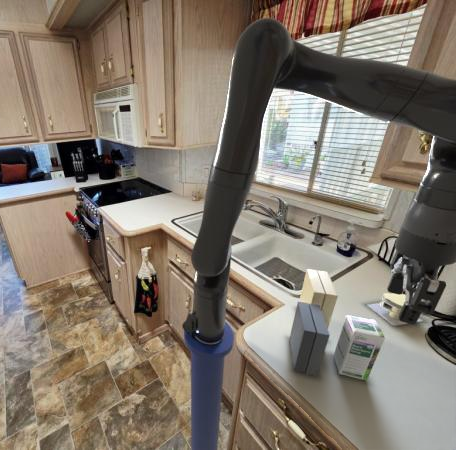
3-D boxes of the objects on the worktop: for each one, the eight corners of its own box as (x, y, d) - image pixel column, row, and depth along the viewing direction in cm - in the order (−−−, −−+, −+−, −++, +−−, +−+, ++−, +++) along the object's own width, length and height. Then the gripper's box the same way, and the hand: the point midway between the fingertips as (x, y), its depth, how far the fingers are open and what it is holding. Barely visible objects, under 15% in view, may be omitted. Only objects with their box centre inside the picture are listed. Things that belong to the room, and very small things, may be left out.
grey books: (293, 370, 63) (304, 330, 57) (289, 339, 71) (297, 301, 66) (316, 376, 61) (329, 335, 55) (309, 343, 70) (319, 305, 64)
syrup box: (338, 374, 61) (354, 331, 55) (332, 354, 66) (346, 313, 60) (366, 381, 59) (386, 338, 53) (358, 360, 64) (375, 318, 58)
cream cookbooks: (302, 335, 72) (313, 291, 66) (297, 309, 82) (306, 268, 75) (324, 340, 70) (338, 295, 64) (316, 312, 80) (327, 271, 73)
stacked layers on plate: (393, 301, 82) (399, 287, 80) (423, 321, 74) (430, 307, 72) (366, 305, 81) (371, 291, 79) (393, 326, 73) (399, 311, 71)
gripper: (392, 211, 48) (367, 280, 54) (417, 244, 37) (382, 325, 43) (448, 217, 44) (414, 289, 51) (493, 255, 33) (442, 341, 40)
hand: (399, 306), depth 47 cm, fingers open, 8 cm apart
